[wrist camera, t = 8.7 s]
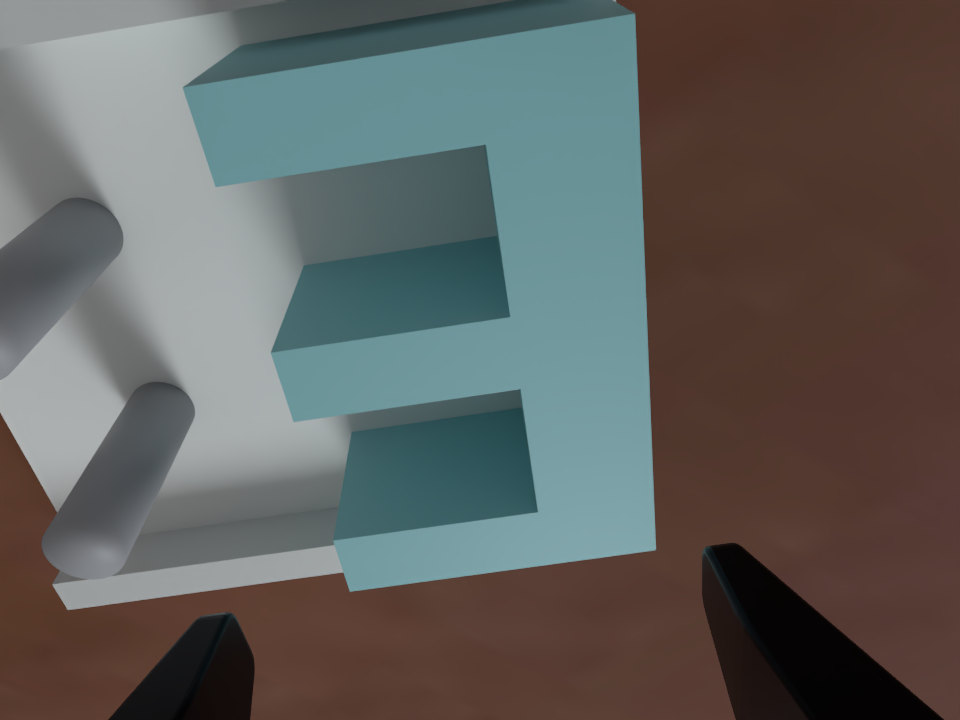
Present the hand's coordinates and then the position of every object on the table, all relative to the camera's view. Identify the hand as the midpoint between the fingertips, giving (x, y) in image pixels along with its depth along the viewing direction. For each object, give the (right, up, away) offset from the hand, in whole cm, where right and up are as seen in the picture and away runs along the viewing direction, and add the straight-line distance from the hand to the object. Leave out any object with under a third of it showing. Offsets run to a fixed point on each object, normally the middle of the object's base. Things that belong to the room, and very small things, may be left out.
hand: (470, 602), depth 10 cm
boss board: (-4, +5, +10) cm, 12 cm away
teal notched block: (0, +5, +8) cm, 10 cm away
